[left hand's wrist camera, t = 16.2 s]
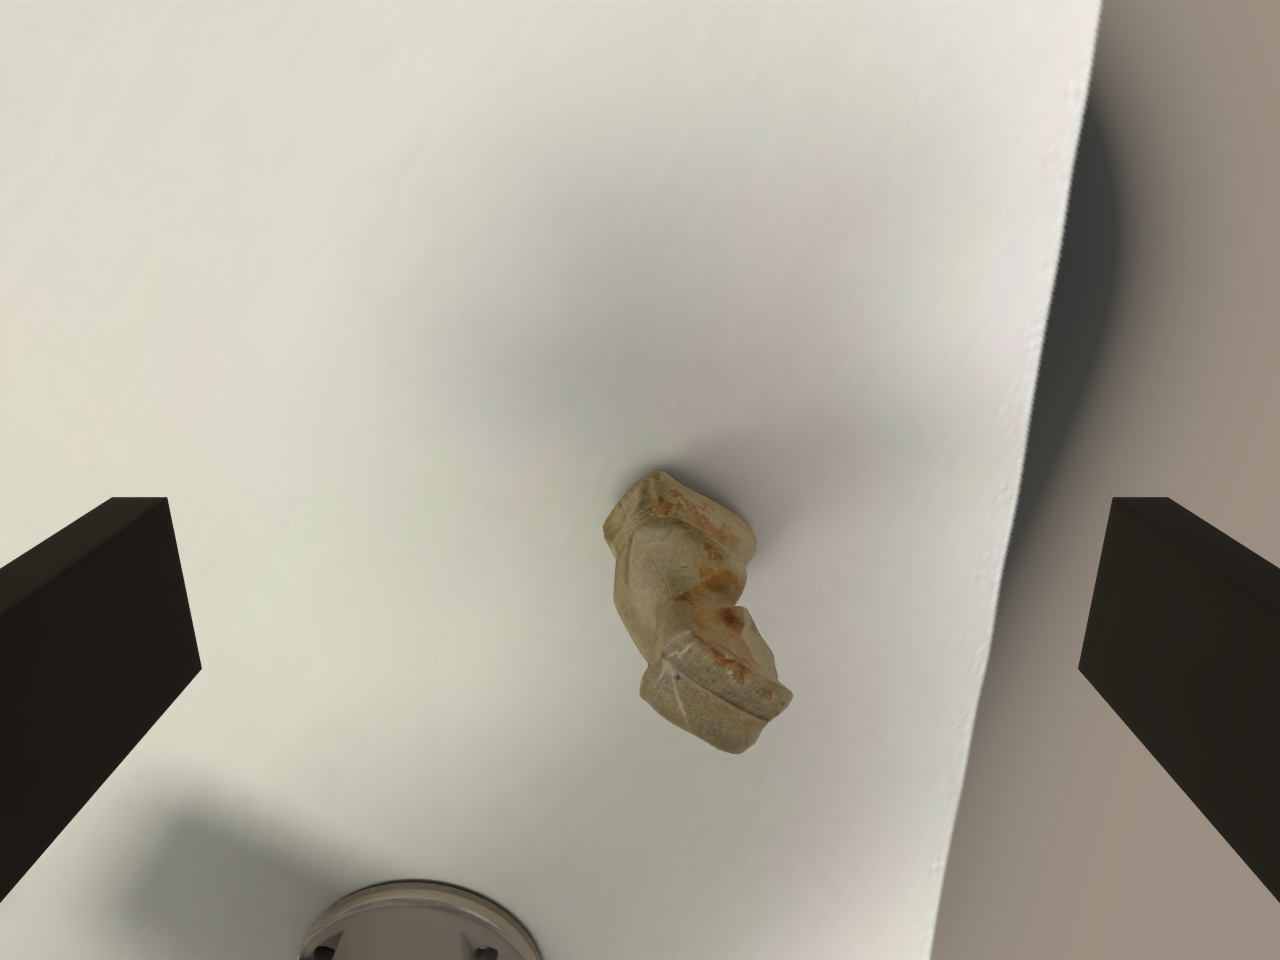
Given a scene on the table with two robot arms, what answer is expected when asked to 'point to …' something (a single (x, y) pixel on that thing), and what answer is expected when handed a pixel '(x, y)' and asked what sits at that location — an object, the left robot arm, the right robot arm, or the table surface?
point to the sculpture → (692, 612)
